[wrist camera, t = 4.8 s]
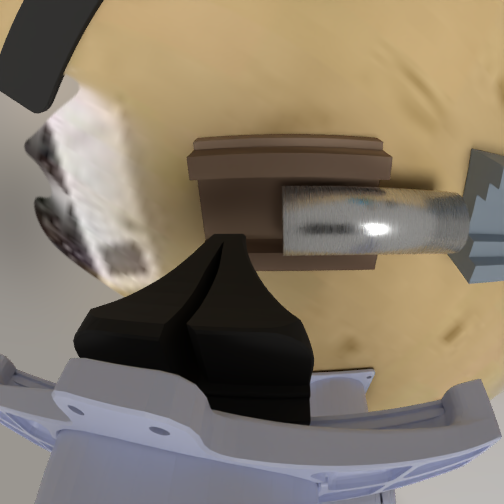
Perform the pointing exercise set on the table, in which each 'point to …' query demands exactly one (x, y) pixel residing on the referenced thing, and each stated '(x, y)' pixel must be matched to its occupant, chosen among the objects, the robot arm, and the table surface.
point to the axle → (371, 221)
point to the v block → (483, 220)
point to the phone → (42, 49)
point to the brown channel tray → (279, 188)
